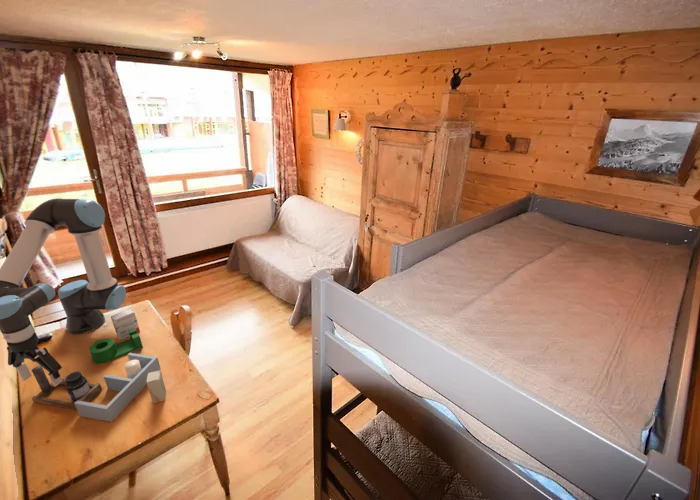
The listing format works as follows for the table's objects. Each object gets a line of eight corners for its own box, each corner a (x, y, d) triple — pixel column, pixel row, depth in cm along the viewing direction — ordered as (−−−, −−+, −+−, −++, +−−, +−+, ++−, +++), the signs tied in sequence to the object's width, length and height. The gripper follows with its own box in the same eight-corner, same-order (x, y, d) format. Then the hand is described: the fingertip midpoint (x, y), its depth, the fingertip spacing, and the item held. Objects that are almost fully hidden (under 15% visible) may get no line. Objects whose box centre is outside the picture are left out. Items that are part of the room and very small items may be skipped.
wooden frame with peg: (56, 381, 130) (46, 358, 125) (102, 389, 127) (93, 366, 122) (31, 401, 121) (19, 378, 116) (79, 410, 118) (69, 387, 113)
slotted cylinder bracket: (95, 367, 138) (91, 355, 135) (91, 356, 143) (86, 344, 140) (143, 347, 149) (139, 336, 147) (137, 338, 155) (134, 327, 152)
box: (154, 393, 127) (147, 372, 122) (166, 390, 128) (160, 369, 124) (152, 403, 122) (146, 382, 118) (165, 400, 124) (159, 379, 119)
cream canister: (135, 373, 135) (131, 358, 132) (146, 375, 135) (142, 360, 131) (126, 382, 131) (121, 367, 127) (137, 384, 130) (132, 369, 127)
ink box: (136, 327, 162) (130, 307, 157) (140, 331, 159) (134, 311, 154) (116, 335, 155) (109, 315, 150) (120, 340, 153) (113, 320, 148)
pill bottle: (71, 396, 124) (62, 375, 119) (91, 388, 128) (82, 367, 123) (73, 407, 120) (63, 385, 115) (93, 398, 123) (84, 377, 119)
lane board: (133, 364, 140) (129, 352, 137) (160, 368, 138) (157, 357, 135) (80, 415, 117) (74, 403, 114) (111, 421, 115) (106, 409, 112)
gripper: (-22, 339, 112) (3, 383, 121) (40, 349, 109) (61, 394, 118) (2, 325, 119) (24, 368, 128) (62, 334, 116) (80, 378, 125)
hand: (42, 381), depth 123 cm, fingers open, 13 cm apart
